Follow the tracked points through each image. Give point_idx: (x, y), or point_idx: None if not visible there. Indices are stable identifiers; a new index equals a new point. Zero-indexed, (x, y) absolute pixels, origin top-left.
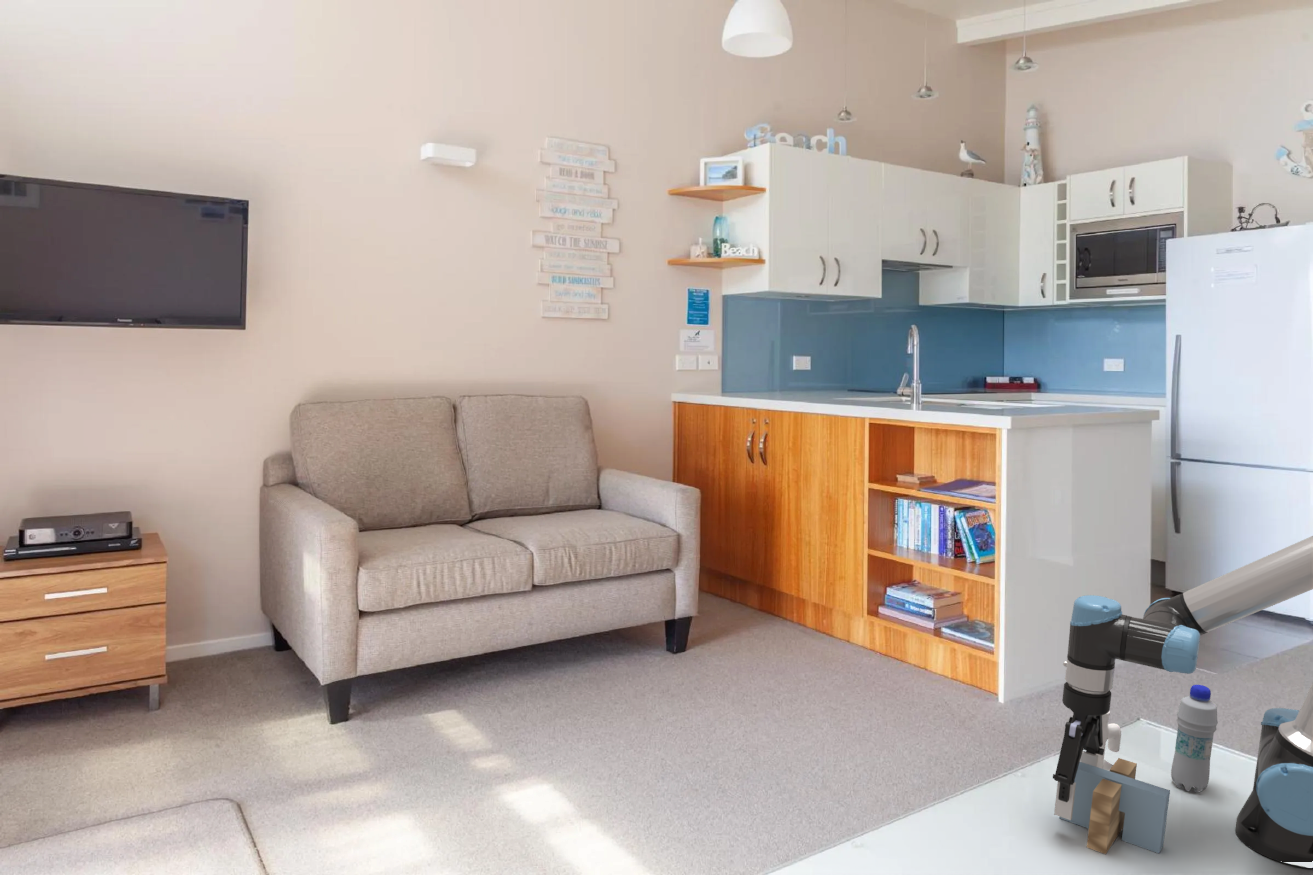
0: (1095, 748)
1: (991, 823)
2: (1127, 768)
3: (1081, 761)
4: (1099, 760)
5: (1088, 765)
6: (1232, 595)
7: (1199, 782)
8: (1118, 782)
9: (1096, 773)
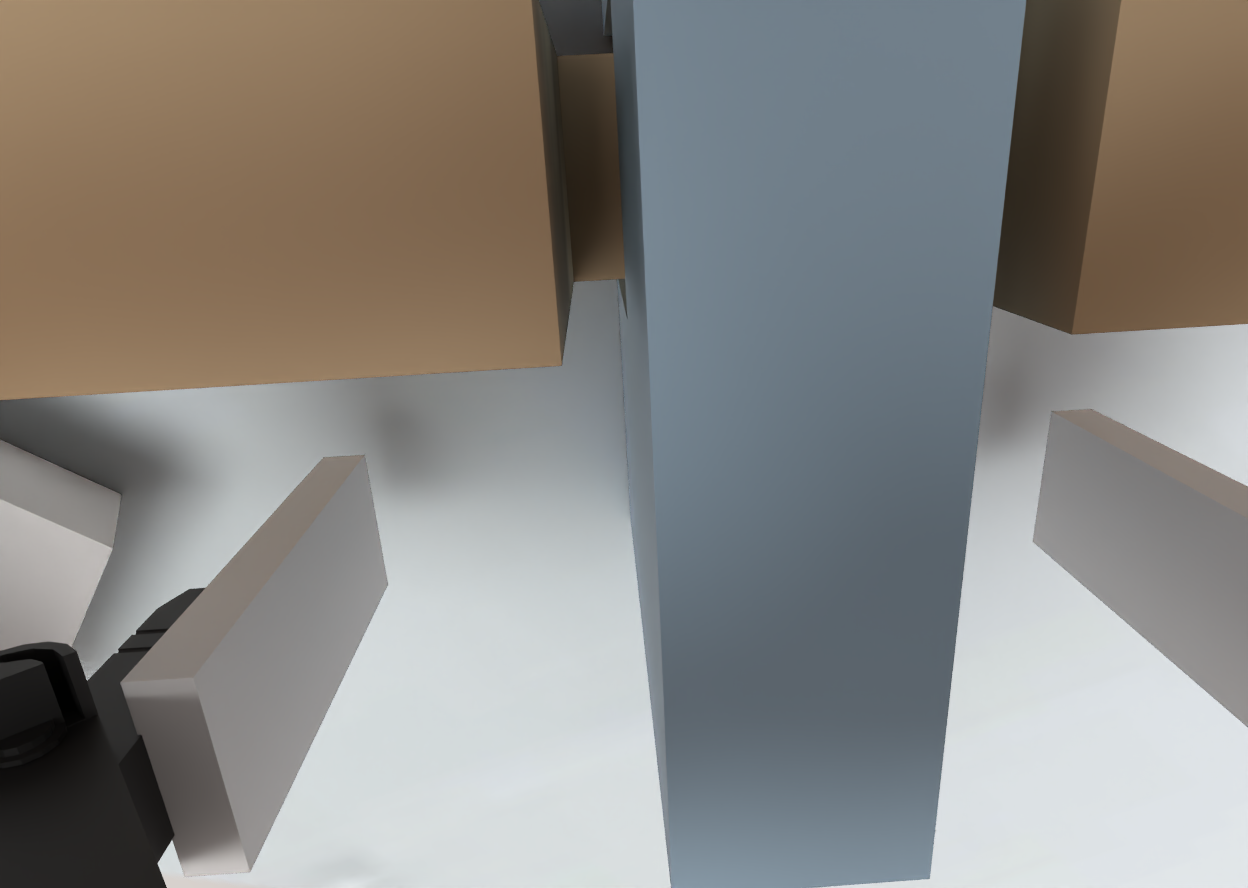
0: (139, 820)
1: (1119, 759)
2: (213, 101)
3: (300, 749)
4: None
5: (705, 663)
6: None
7: None
8: (1016, 45)
9: (926, 479)
